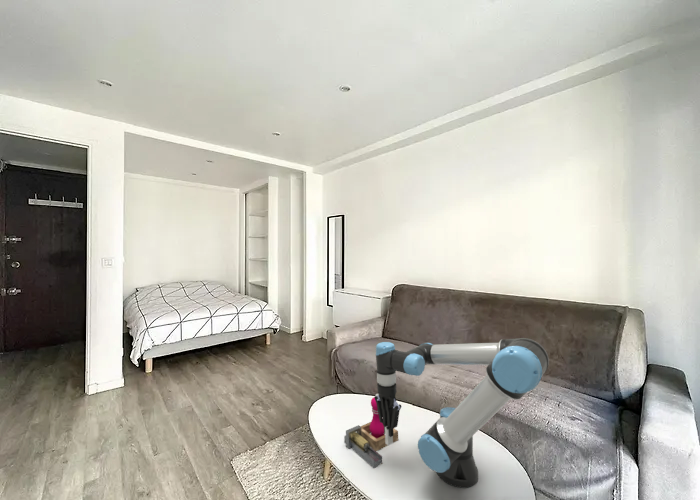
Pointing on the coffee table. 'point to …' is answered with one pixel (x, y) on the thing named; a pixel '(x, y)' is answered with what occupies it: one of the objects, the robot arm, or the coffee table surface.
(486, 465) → the coffee table surface
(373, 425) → the pepper mill
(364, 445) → the pin
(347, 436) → the rail
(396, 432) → the cradle
